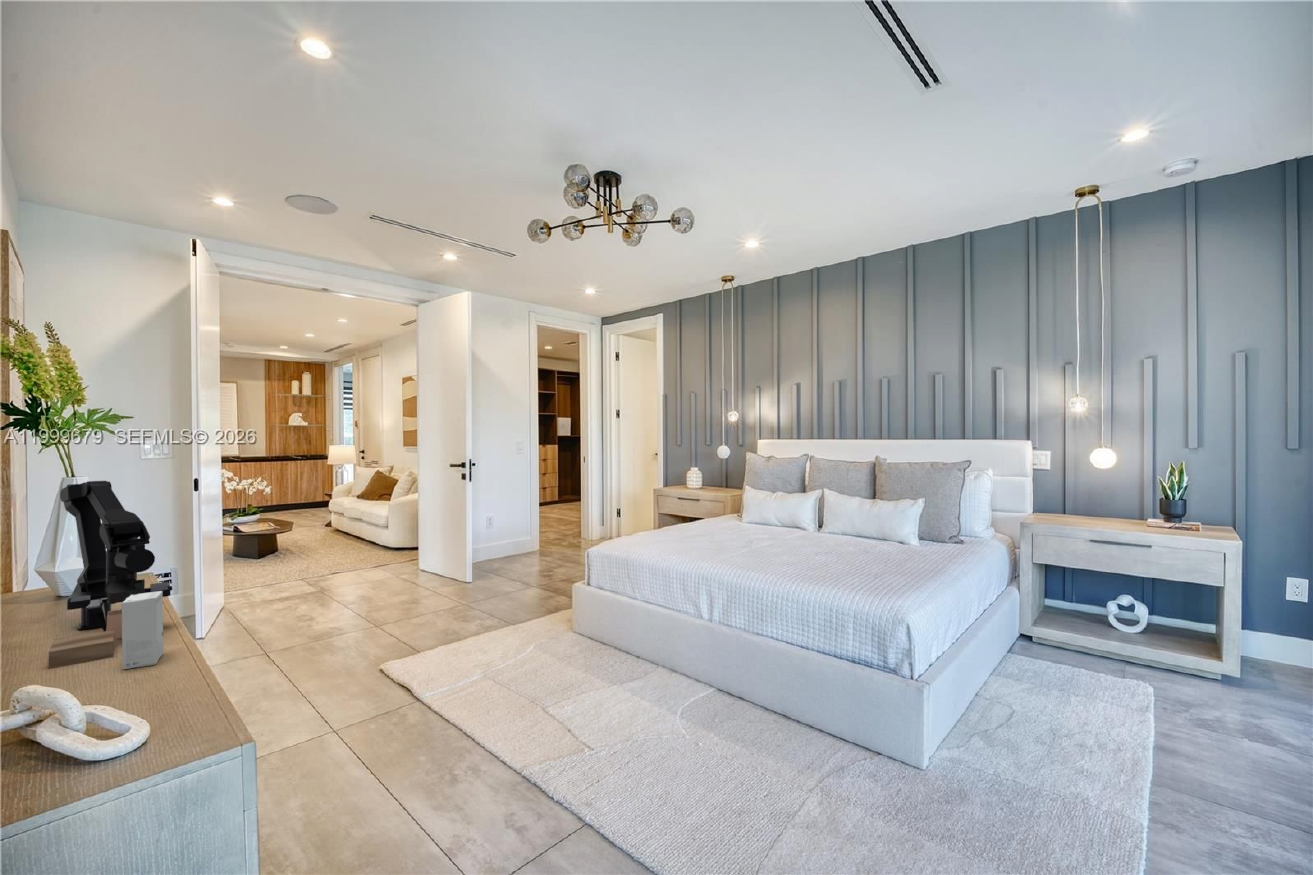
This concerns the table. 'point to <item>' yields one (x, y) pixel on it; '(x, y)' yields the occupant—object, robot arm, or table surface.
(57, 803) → the table surface
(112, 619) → the terracotta block
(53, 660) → the block
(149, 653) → the skincare box
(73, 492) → the robot arm
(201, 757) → the table surface
